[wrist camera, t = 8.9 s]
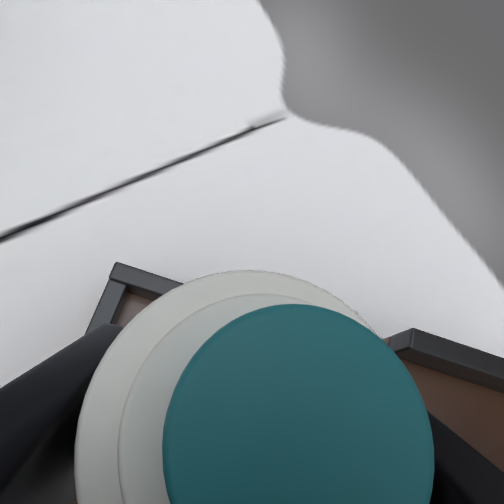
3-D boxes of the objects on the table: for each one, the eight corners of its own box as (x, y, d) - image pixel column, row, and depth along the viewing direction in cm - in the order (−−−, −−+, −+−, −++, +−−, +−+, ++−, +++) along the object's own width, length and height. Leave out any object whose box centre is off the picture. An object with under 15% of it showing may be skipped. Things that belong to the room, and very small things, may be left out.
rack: (505, 621, 17) (684, 725, 11) (38, 485, 16) (-35, 522, 10) (513, 412, 21) (657, 408, 15) (122, 285, 19) (104, 223, 13)
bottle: (315, 489, 12) (636, 622, 4) (143, 560, 11) (87, 982, 3) (261, 325, 14) (416, 169, 5) (103, 371, 13) (-17, 261, 4)
